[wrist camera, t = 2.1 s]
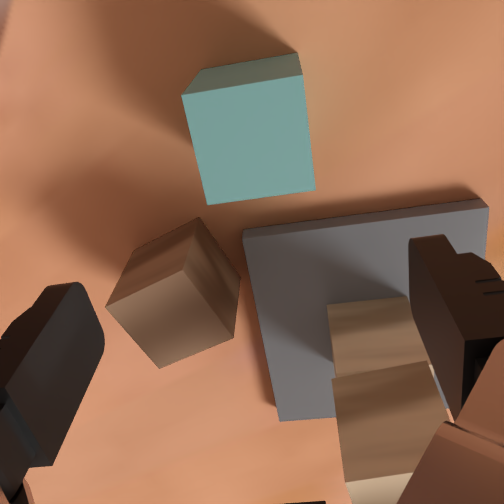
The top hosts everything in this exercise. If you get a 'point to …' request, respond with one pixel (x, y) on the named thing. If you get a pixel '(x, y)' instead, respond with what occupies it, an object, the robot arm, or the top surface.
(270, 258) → the slate board
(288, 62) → the teal block
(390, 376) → the tower top block
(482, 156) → the top surface
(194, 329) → the walnut block
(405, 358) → the tower base block
